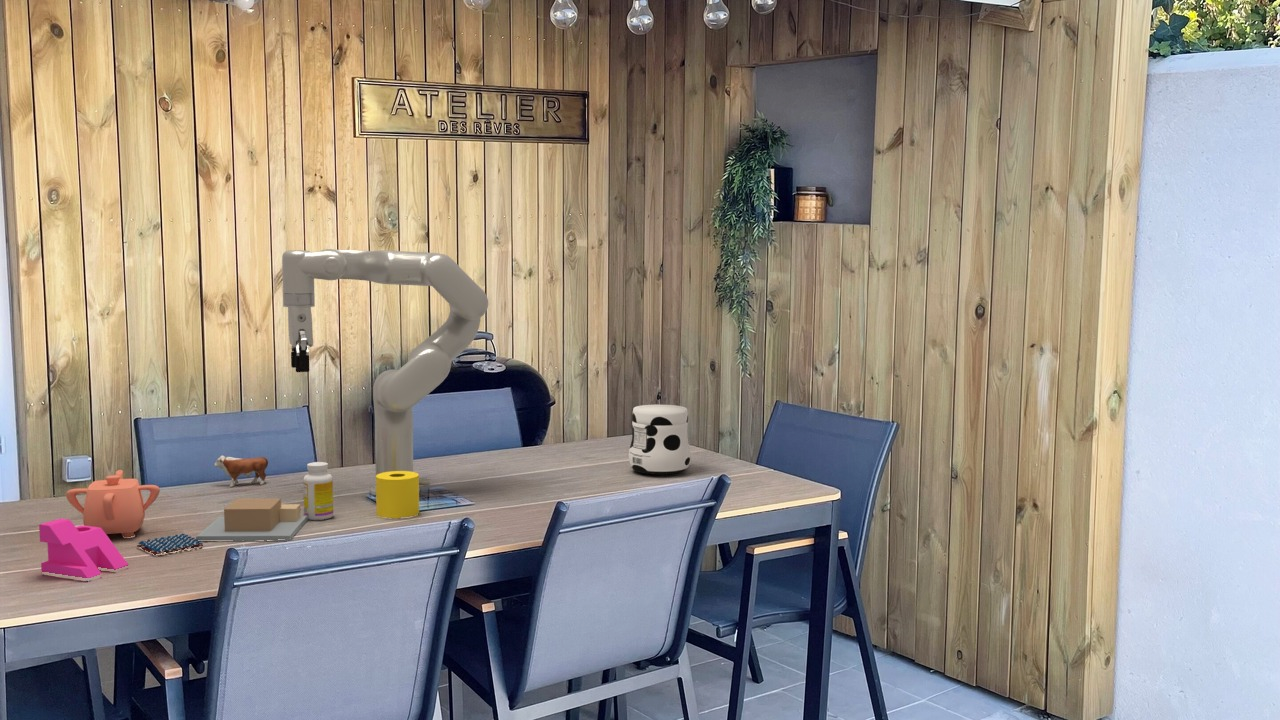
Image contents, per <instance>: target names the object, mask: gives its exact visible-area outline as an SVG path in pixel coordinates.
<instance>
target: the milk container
mask: <svg viewBox="0 0 1280 720" xmlns="http://www.w3.org/2000/svg"><path fill="white" fill-rule="evenodd" d="M632 409H633V410H632V417H631V419H632V421H631V422H632V423H631V429H632V430H631V434H632V435H631V436H632V437H631V442H630V446H629V450H628V461H629V465H630V468H631V469H632V470H633V471H635V472H639V473H641V474H646V475H654V476H655V475H657V476H659V475H661V476H662V475H664V476H665V475H666V476H667V475H674V474H679V473H682V472H685V471H686V470H688V468H689V466H690V463H691V459H692V458H691V457H692V456H691V455H692V454H691V453H692V452H691V447H690V445H689V441H688V437H689V436H688V435H689V434H688V433H689V428H688V427H689V423H688V421H689V412H688V408H687V407H685V406H682V405H675V404H657V403H656V404H643V405H637V406H634V407H633V408H632Z"/></svg>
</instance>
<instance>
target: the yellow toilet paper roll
mask: <svg viewBox="0 0 1280 720" xmlns="http://www.w3.org/2000/svg"><path fill="white" fill-rule="evenodd" d="M419 478H420V475H419V473H418V472H415V471H413V472H411V471H390V472H383V473H380V474H377V475H376V474H375V485H376V496H375V500H376V516H377V515H378V516H380V517H387V518H401V517H410V516H415V515H417V514H418V513H419V514H420V491H419V487H420V485H419ZM378 516H377V517H378ZM417 516H418V515H417ZM380 517H379V518H380ZM415 517H416V516H415Z"/></svg>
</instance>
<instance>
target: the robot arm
mask: <svg viewBox="0 0 1280 720" xmlns="http://www.w3.org/2000/svg"><path fill="white" fill-rule="evenodd" d="M281 258H282V259H281V265H282V266H281V267H282V273H281V274H282V307H284V308H287V322H288V324H287V325H288V339H289V344H290V345H291V351H290V363H291V364H290V365H291V368H293V369H294V368H295V372H296V373H309V372H310V353H309V352H310V351H309V347H310V348H312V347H314V334H313V333H314V331H313V316H312V309H311V308H314V307H315V306H316V303H315V302H316V301H315V300H316V299H315V295H316V294H315V279H316V280H325V281H336V280H355V281H364V282H366V281H367V282H373V283H376V284H383V285H397V286H419V287H420V286H421V287H424V286H425V287H432V288H434V290H435V291H436V292H437V293H438V294H439V296H441V297H442V299H444V300H445V302H447V303H448V306H449V313H448V316H447V319H446V321H444V323H443V324H442V325H441V326H440V327H439V328H437V329H436V331H435V332H433V333H432V334H430V335H429V336H428V337H427V338H426V339H424V340H423V341H422V342H421V343H420V344H418V345H417V346H416V347H414V348H413V349H412V350H411V351H410V353H409V355H408V358H407V362H406V363H405V364H404V365H402V366H401V367H400V368H398V369H387V370H385V371H383V372H381V373H379V375H377V377H376V379H375V380H374V383H373V385H372V386H373V387H372V401H373V412H374V449H375V451H374V453H375V454H374V455H375V456H374V457H375V476H376V475H377V474H380V473H383V472H390V471H411V472H414V433H413V432H414V423H413V422H414V420H413V418H414V417H413V416H414V414H413V407H414V406H416V405H417V404H418V403H419V402H421V401H422V400H423V399H424V398H426V396H428V395H429V394H430V393H431V392H433V391H434V390H435V389H436V388H437V387H438V386H440V385H441V384H442V383H443V382H444V381H445V379H446V378H447V377H448V375H449V373H450V371H451V367H452V366H451V365H452V362H453V361H454V360H456V358H457V357H458V356H459V355H461V354H462V353H463V351H465V350H466V349H467V348H469V346H470V345H471V344H472V342H473V341H474V340H475V338H476V336H477V334H478V332H479V329H480V325H481V318H482V317H483V316H485V314H486V312H487V311H488V307H489V299H488V296H487V294H486V292H485V291H484V290H483V289H482V288H481V286H479V285H478V284H477V283H476V282H475V280H473V279H472V278H471V277H470V276H469V275H468V273H466V272H465V271H464V269H462V268H461V267H460V266H459V264H458V263H457V262H455V260H454V259H453V258H451V257H450V256H449V255H447V254H444V253H437V252H425V251H424V252H422V251H421V252H420V251H406V250H405V251H404V250H385V249H384V250H383V249H382V250H356V249H355V250H351V249H335V248H333V249H332V248H324V249H322V250H320V251H319V250H318V251H310V250H304V249H303V250H301V249H298V250H297V249H291V250H290V249H289V250H286V251H284V252H283V253H282V255H281ZM420 486H424V487H430V486H432V479H431V478H428V477H419V492H420V491H421V489H420ZM369 493H370V495H372V496H375V495H376V484H375V485H373V486H371V487H369Z"/></svg>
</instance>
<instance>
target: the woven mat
mask: <svg viewBox="0 0 1280 720" xmlns="http://www.w3.org/2000/svg"><path fill="white" fill-rule="evenodd" d="M136 547H138V548H139V547H141V548H142V549H143V550H146V551H148V552H150V551H151V553H153V554H154V555H156V554H161V553H162V554H164V552H166V553H169V552H175V551H178V550H184V549H185V548H187V549H191V548H194V547H204V545H203V542H201V541H198V539H196V537H192V536H190V535H188V534H185V533H181V534H174V535H172V536H171V535H167V536H165V537H164V536H163V537H162V536H161V537H158V538H157V537H155V538H152V539H147V540H144V541H143V540H140V541H139V542H138V544H137V545H136ZM190 547H191V548H190ZM194 549H195V548H194ZM143 550H142V551H143ZM184 551H185V550H184ZM169 554H170V553H169Z"/></svg>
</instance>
